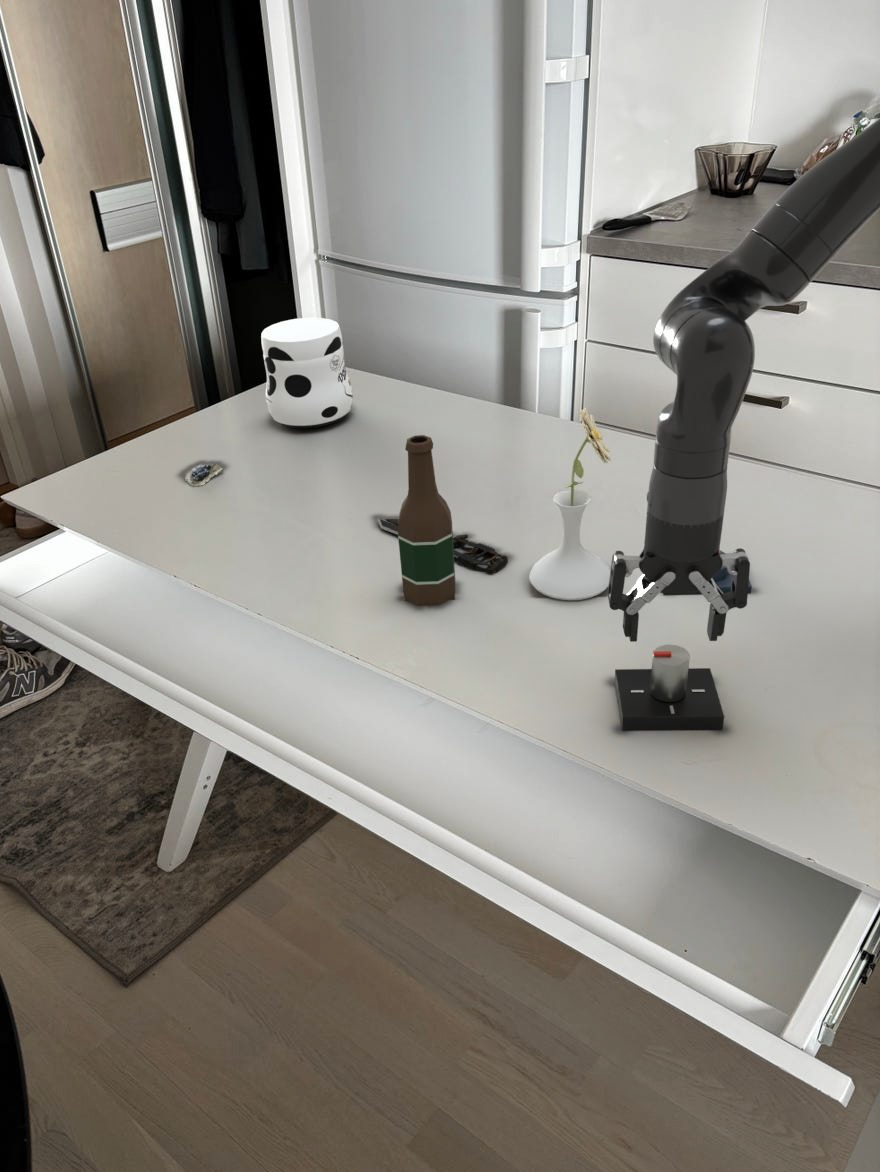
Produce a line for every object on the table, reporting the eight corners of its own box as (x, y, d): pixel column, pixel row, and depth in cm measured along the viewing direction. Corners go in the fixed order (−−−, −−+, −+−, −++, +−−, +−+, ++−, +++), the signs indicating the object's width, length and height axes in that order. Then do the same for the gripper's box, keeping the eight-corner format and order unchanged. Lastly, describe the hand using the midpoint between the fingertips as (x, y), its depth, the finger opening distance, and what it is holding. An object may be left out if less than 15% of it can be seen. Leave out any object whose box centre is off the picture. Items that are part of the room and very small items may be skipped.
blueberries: (228, 467, 181) (226, 458, 180) (214, 486, 175) (212, 477, 174) (193, 467, 182) (191, 458, 181) (178, 486, 176) (176, 477, 175)
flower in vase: (594, 615, 131) (602, 441, 117) (516, 598, 136) (514, 429, 122) (626, 569, 141) (636, 402, 126) (552, 554, 146) (554, 393, 131)
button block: (737, 563, 140) (740, 541, 138) (750, 597, 132) (753, 574, 130) (658, 565, 141) (660, 543, 139) (667, 598, 133) (669, 576, 131)
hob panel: (707, 688, 117) (710, 666, 115) (721, 737, 109) (724, 715, 108) (613, 689, 118) (615, 668, 116) (621, 737, 111) (622, 716, 109)
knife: (371, 526, 158) (370, 519, 157) (401, 512, 161) (400, 504, 160) (482, 580, 141) (482, 572, 140) (513, 563, 144) (513, 555, 144)
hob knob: (683, 680, 113) (687, 641, 110) (688, 702, 110) (692, 662, 107) (647, 681, 114) (650, 642, 111) (652, 702, 111) (655, 663, 108)
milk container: (372, 413, 198) (363, 323, 187) (309, 442, 188) (296, 349, 178) (315, 396, 208) (303, 311, 198) (252, 423, 198) (236, 334, 188)
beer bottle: (417, 579, 143) (404, 424, 129) (466, 588, 140) (458, 430, 126) (393, 607, 137) (377, 447, 124) (444, 617, 134) (433, 454, 120)
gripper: (617, 524, 96) (609, 658, 105) (767, 520, 95) (745, 656, 104) (610, 490, 102) (603, 619, 112) (750, 486, 101) (732, 617, 110)
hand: (672, 637), depth 108 cm, fingers open, 8 cm apart
